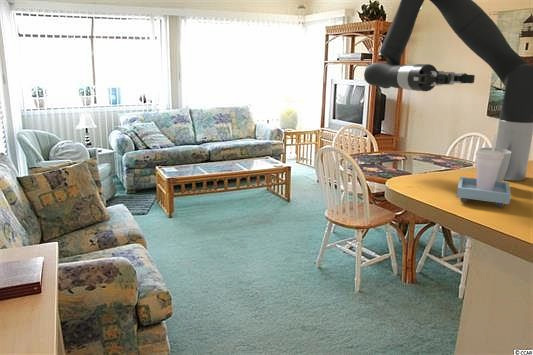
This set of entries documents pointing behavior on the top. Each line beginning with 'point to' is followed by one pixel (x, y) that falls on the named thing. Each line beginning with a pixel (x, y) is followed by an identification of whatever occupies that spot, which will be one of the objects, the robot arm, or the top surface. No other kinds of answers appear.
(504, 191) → the square pastel tray
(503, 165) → the cup
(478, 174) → the smoothie
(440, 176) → the top surface
